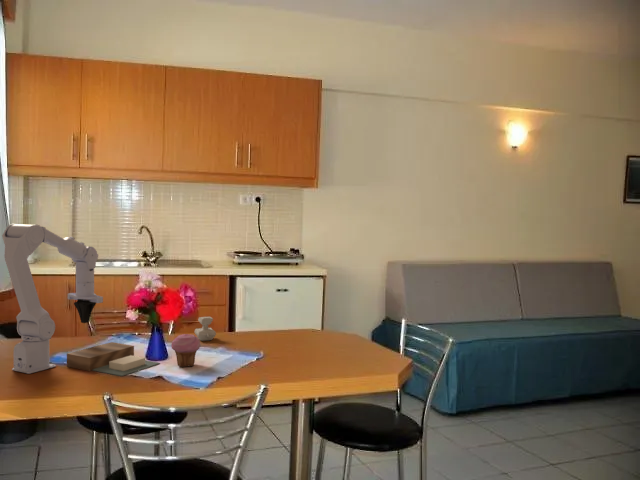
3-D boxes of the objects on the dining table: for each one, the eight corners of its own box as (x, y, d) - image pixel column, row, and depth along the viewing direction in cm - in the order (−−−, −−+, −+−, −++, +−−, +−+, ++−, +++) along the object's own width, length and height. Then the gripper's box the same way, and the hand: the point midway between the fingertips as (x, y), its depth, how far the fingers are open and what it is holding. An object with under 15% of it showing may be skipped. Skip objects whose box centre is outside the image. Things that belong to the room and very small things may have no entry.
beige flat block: (109, 361, 181) (109, 368, 181) (123, 364, 179) (123, 371, 179) (130, 355, 189) (130, 361, 189) (145, 357, 187) (145, 364, 187)
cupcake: (171, 369, 182) (172, 337, 181) (170, 362, 190) (171, 331, 190) (201, 368, 184) (201, 336, 184) (199, 361, 193) (199, 330, 192)
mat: (121, 376, 174) (121, 375, 174) (92, 370, 180) (92, 369, 180) (159, 363, 188) (159, 362, 188) (131, 358, 194) (131, 357, 194)
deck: (89, 371, 179) (89, 358, 179) (66, 366, 183) (66, 353, 183) (134, 357, 195) (134, 345, 195) (111, 353, 199) (111, 342, 199)
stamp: (193, 337, 225) (193, 315, 225) (210, 336, 228) (210, 314, 228) (199, 343, 217) (199, 320, 217) (217, 341, 220) (217, 319, 219)
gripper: (110, 282, 198) (110, 322, 199) (79, 279, 205) (79, 318, 206) (93, 284, 192) (93, 326, 193) (62, 281, 199) (62, 321, 200)
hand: (85, 322), depth 199 cm, fingers closed
